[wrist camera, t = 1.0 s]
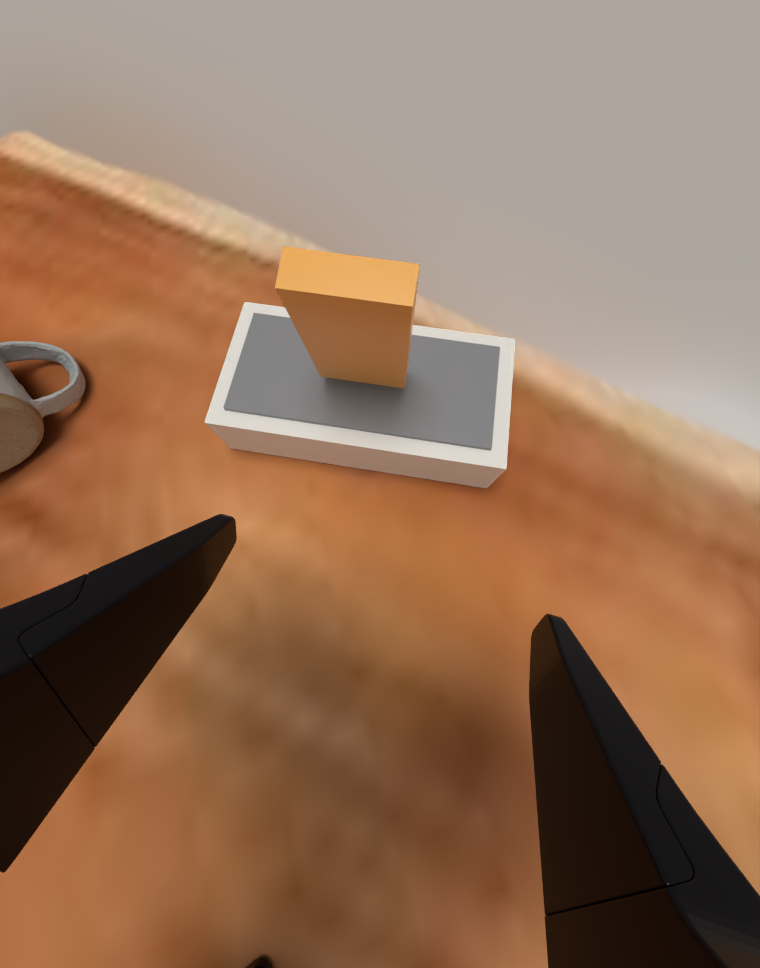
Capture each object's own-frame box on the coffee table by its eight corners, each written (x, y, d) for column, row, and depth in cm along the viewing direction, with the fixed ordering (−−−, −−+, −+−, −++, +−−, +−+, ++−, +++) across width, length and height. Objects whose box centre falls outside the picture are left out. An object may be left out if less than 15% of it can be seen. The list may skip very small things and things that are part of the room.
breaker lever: (404, 388, 21) (412, 306, 13) (320, 376, 22) (275, 287, 13) (408, 362, 21) (419, 264, 13) (325, 350, 22) (283, 246, 13)
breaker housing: (486, 488, 25) (508, 467, 21) (230, 448, 26) (201, 420, 22) (496, 374, 27) (516, 335, 23) (262, 341, 28) (243, 298, 24)
